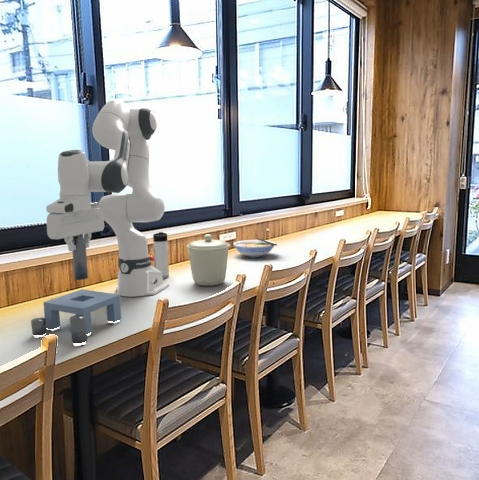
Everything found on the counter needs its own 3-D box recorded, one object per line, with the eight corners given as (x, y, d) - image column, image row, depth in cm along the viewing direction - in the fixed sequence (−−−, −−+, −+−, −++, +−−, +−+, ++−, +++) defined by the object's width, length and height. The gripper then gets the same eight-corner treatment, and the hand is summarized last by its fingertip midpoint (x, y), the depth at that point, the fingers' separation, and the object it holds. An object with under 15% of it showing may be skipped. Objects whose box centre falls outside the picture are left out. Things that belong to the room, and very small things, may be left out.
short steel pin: (40, 332, 142) (39, 316, 141) (49, 334, 140) (48, 318, 139) (29, 337, 138) (28, 320, 138) (39, 339, 137) (37, 322, 136)
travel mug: (169, 275, 213) (168, 232, 210) (168, 278, 206) (166, 234, 203) (156, 275, 213) (154, 232, 210) (153, 279, 206) (151, 234, 203)
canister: (204, 276, 210) (202, 230, 207) (238, 281, 201) (237, 232, 197) (179, 285, 195) (177, 235, 191) (215, 291, 186) (213, 238, 182)
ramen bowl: (227, 253, 262) (227, 239, 261) (265, 251, 269) (265, 237, 267) (241, 262, 238) (241, 246, 237) (282, 259, 245) (282, 243, 244)
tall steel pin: (81, 276, 147) (77, 232, 145) (90, 277, 146) (87, 233, 143) (71, 279, 144) (68, 234, 142) (81, 280, 142) (78, 235, 140)
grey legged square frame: (83, 315, 158) (82, 289, 156) (121, 321, 151) (119, 294, 149) (45, 330, 144) (43, 302, 142) (84, 338, 137) (82, 308, 135)
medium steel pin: (80, 340, 135) (77, 313, 134) (90, 342, 133) (87, 316, 132) (69, 345, 132) (66, 318, 130) (79, 347, 130) (76, 320, 128)
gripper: (92, 201, 152) (95, 243, 154) (41, 207, 133) (45, 254, 136) (107, 201, 149) (110, 244, 151) (57, 208, 131) (61, 256, 133)
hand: (79, 249), depth 143 cm, fingers closed on tall steel pin, 4 cm apart
